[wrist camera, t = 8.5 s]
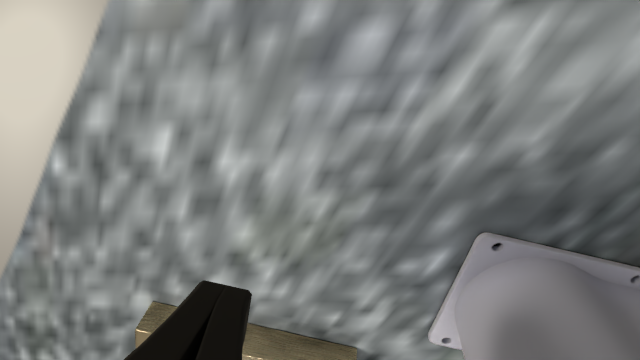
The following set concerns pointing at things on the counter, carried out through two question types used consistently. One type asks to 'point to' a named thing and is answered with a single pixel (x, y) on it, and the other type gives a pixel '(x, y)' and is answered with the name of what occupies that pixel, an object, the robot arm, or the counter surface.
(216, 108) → the counter surface
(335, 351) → the oven controls
